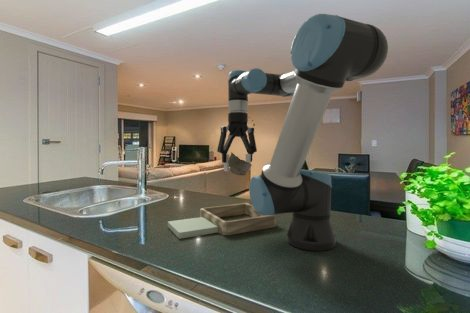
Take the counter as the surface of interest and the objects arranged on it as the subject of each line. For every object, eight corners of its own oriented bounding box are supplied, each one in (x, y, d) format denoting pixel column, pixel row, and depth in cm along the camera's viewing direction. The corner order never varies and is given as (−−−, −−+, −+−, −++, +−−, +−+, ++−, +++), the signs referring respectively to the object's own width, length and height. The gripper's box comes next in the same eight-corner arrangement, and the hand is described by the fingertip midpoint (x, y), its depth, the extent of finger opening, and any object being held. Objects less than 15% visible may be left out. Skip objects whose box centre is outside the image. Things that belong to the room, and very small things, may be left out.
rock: (244, 173, 97) (227, 152, 100) (233, 183, 100) (218, 163, 103) (258, 170, 106) (243, 151, 110) (248, 180, 109) (234, 161, 112)
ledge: (217, 232, 97) (217, 226, 96) (179, 238, 90) (179, 232, 90) (202, 221, 109) (202, 216, 109) (167, 226, 102) (167, 221, 102)
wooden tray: (276, 226, 104) (277, 214, 104) (223, 235, 93) (224, 222, 93) (246, 212, 123) (246, 202, 123) (199, 219, 113) (199, 208, 112)
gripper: (256, 115, 114) (255, 168, 115) (208, 111, 104) (207, 171, 105) (266, 113, 108) (265, 170, 109) (216, 109, 97) (216, 172, 98)
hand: (237, 170), depth 107 cm, fingers closed on rock, 9 cm apart
